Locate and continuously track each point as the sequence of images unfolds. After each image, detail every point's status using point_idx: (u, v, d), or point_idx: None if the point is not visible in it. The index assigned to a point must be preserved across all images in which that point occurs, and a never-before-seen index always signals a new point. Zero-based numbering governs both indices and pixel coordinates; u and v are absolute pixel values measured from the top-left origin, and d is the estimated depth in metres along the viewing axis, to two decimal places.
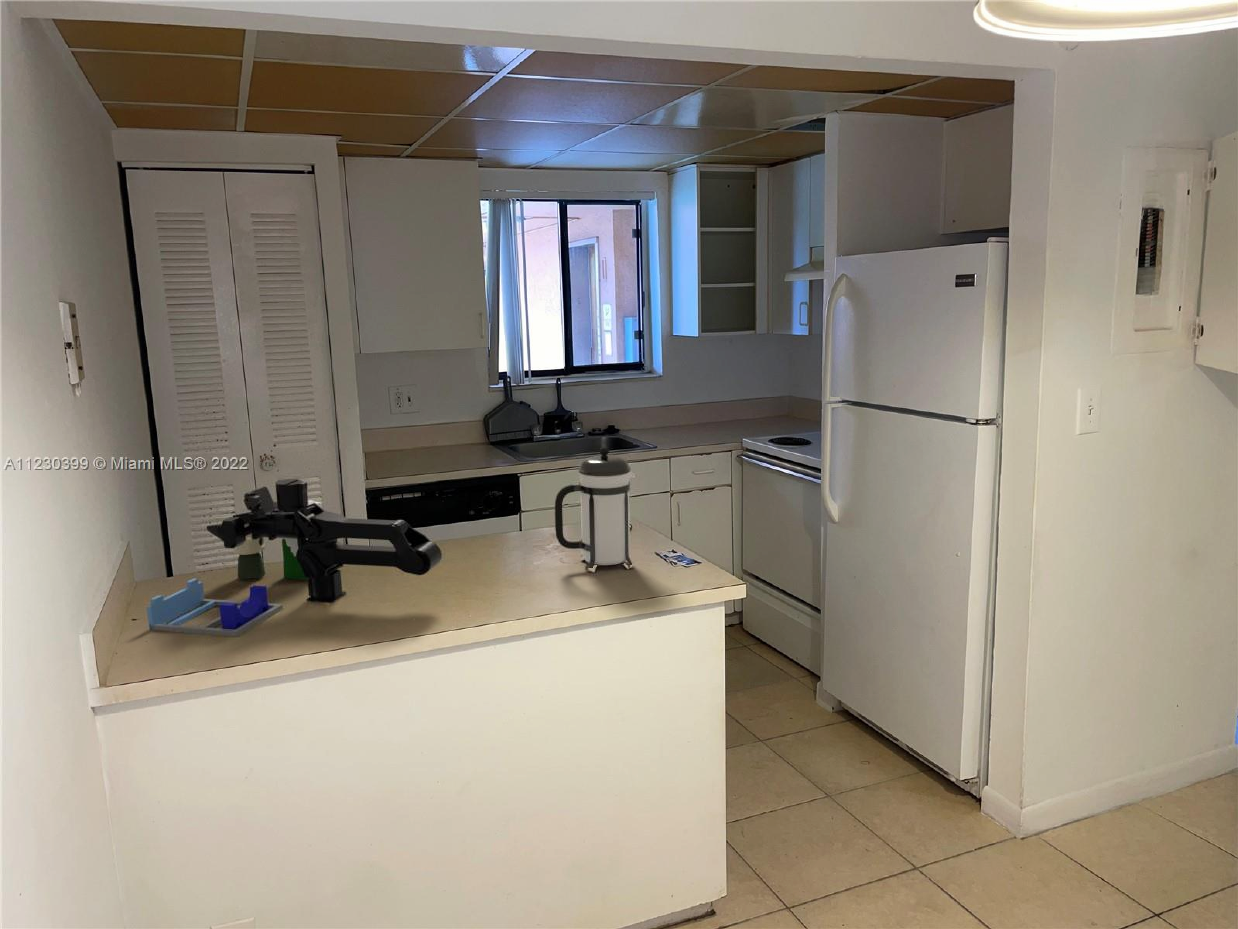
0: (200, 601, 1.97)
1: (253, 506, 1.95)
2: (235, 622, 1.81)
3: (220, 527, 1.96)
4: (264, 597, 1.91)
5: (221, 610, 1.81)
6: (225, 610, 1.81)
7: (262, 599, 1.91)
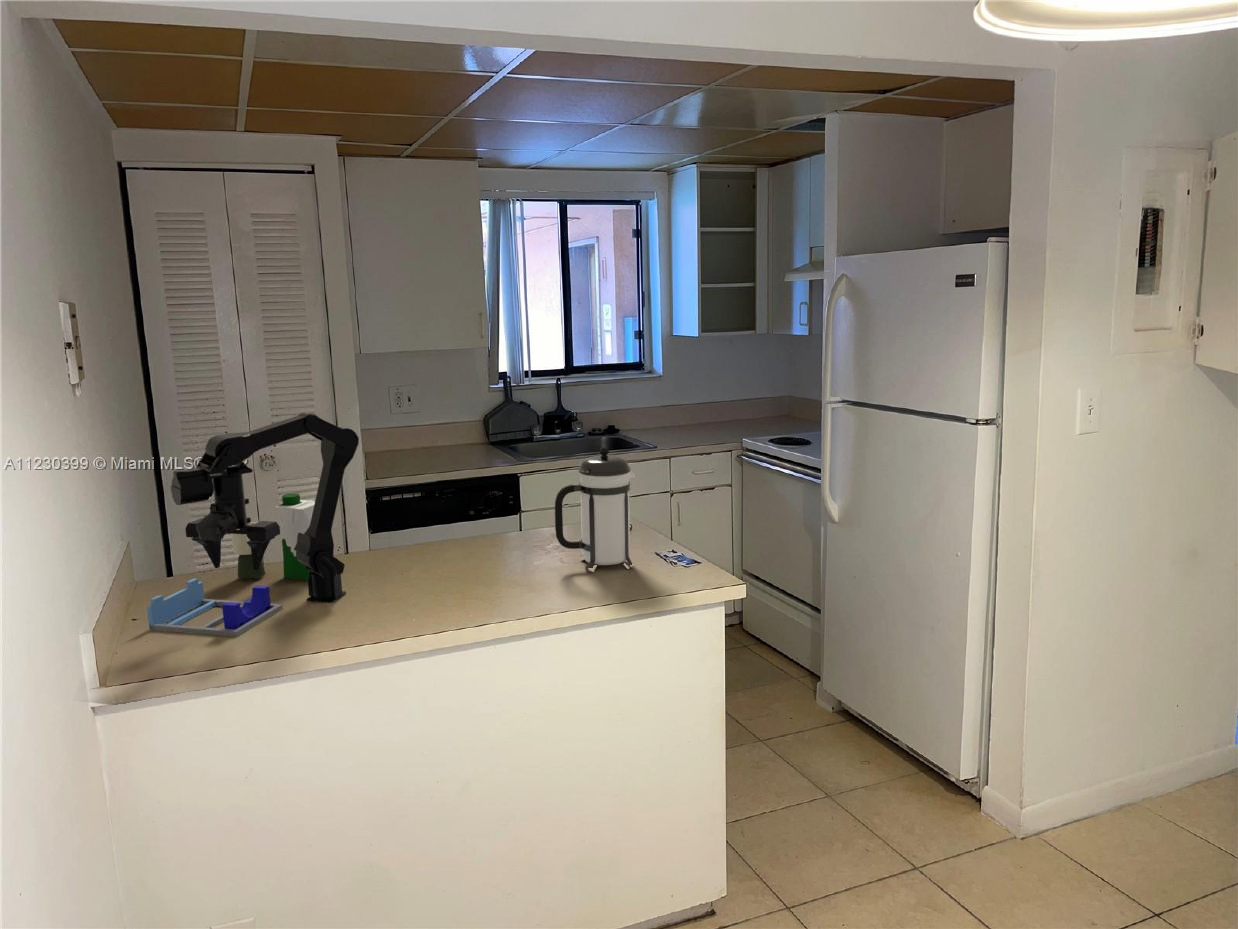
0: (200, 601, 1.97)
1: (232, 521, 1.77)
2: (238, 622, 1.81)
3: (257, 551, 1.83)
4: (267, 597, 1.91)
5: (224, 610, 1.81)
6: (228, 610, 1.81)
7: (264, 599, 1.90)
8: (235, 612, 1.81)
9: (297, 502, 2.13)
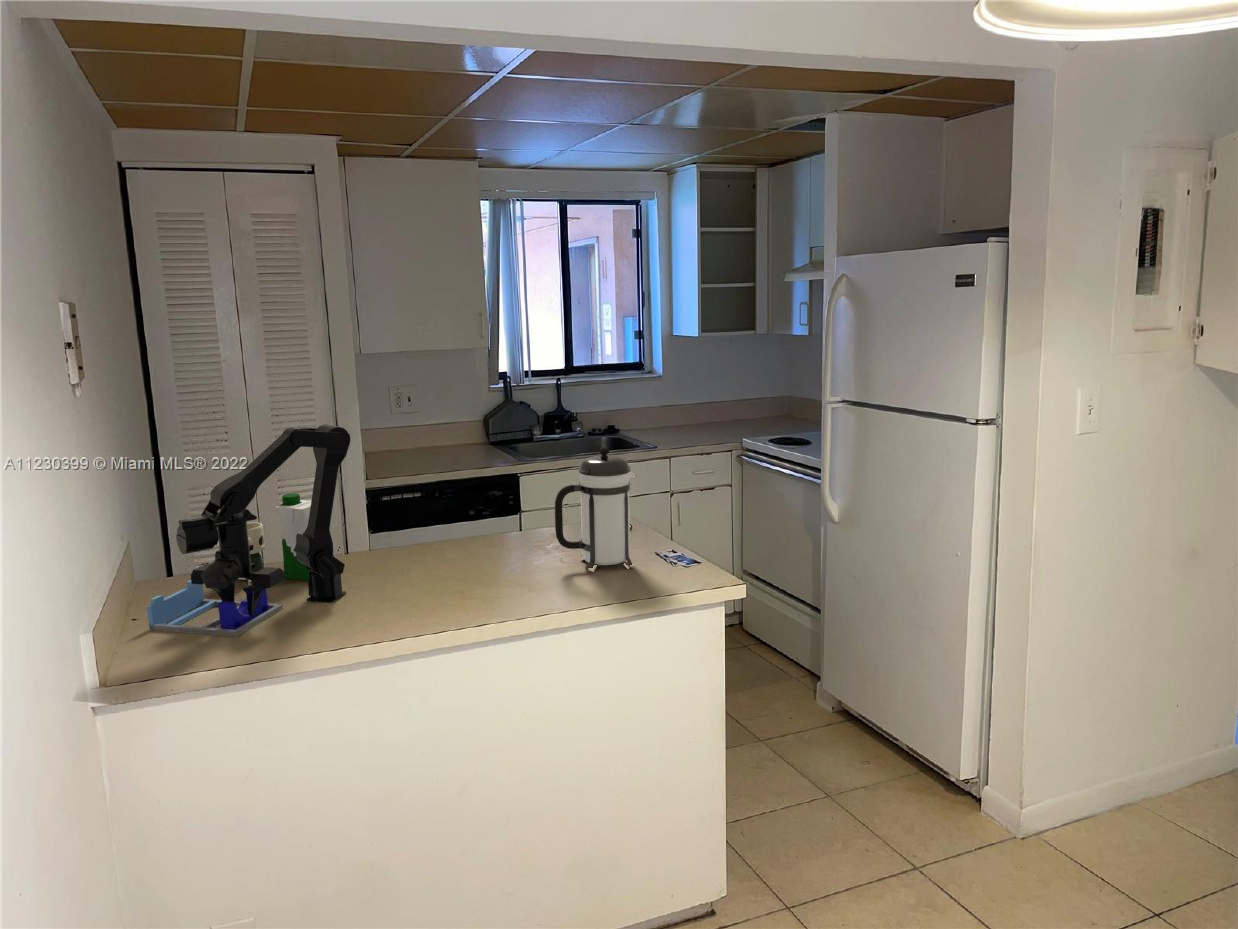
0: (200, 601, 1.97)
1: (237, 569, 1.79)
2: (234, 621, 1.81)
3: (253, 596, 1.85)
4: (264, 596, 1.91)
5: (220, 609, 1.81)
6: (224, 609, 1.81)
7: (262, 598, 1.91)
8: (231, 611, 1.81)
9: (297, 502, 2.13)
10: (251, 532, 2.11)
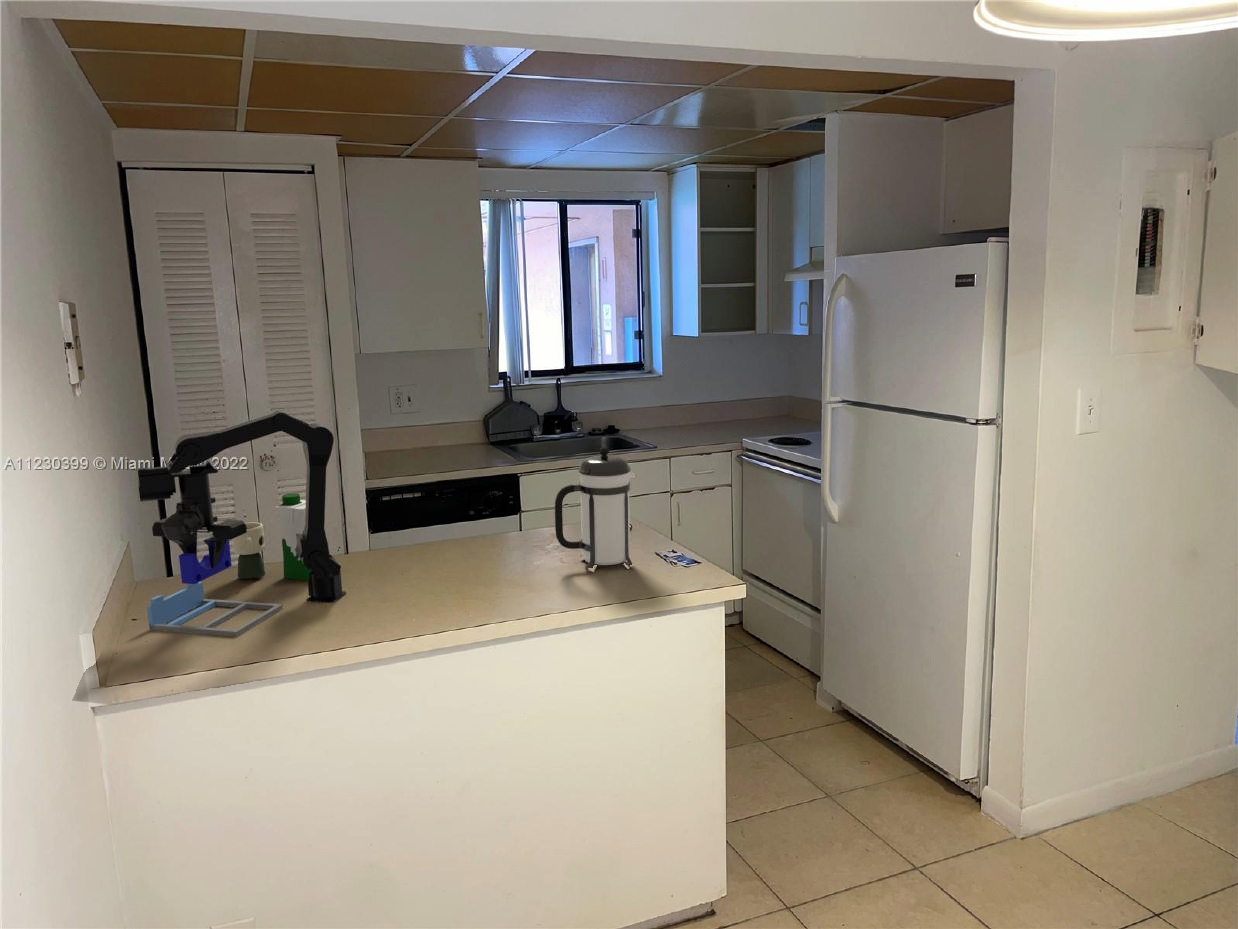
0: (200, 601, 1.97)
1: (198, 519, 1.79)
2: (195, 573, 1.81)
3: (215, 549, 1.85)
4: (227, 550, 1.91)
5: (181, 561, 1.81)
6: (184, 561, 1.81)
7: (224, 552, 1.90)
8: (192, 563, 1.80)
9: (297, 502, 2.13)
10: (251, 532, 2.11)
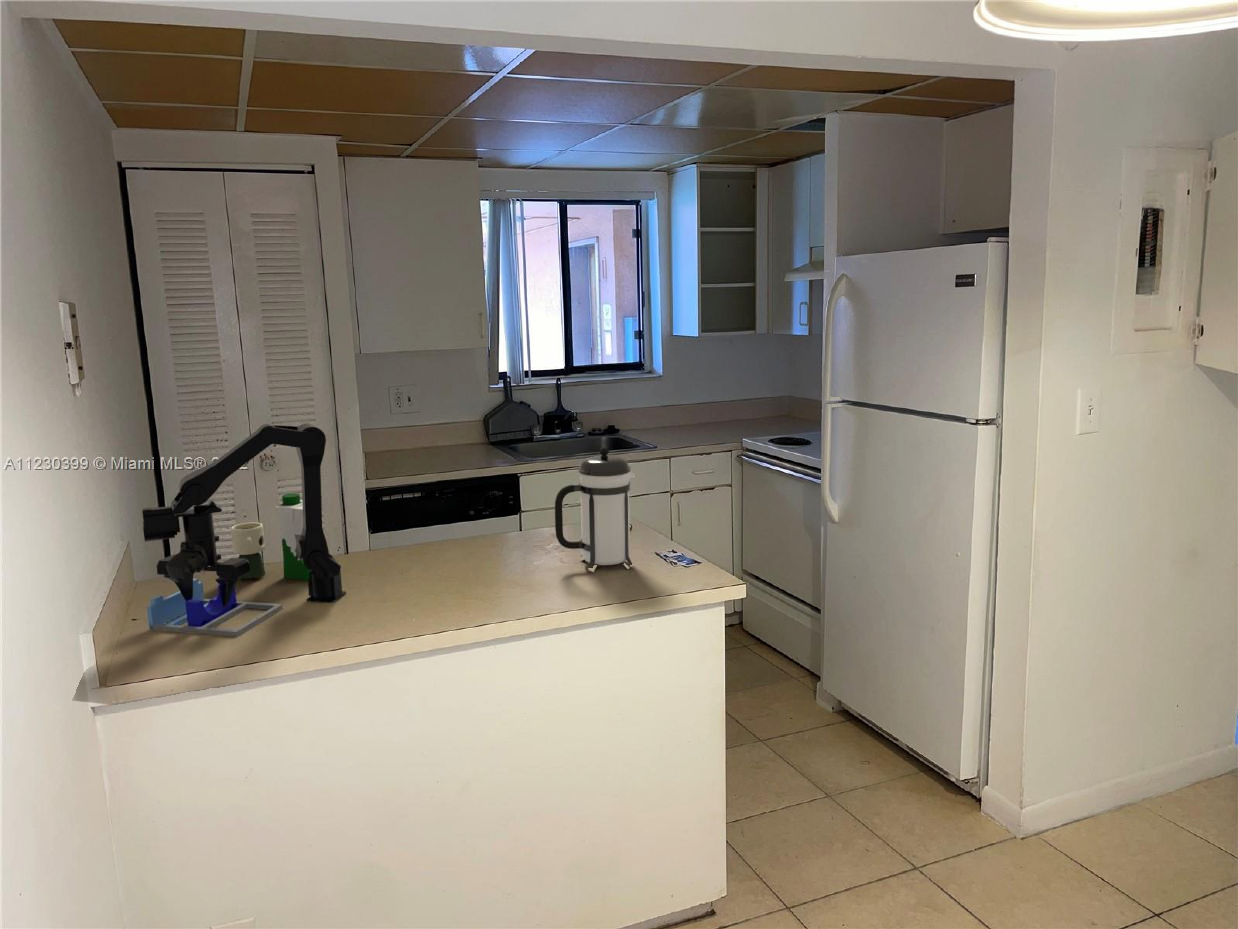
0: None
1: (202, 559, 1.80)
2: (201, 619, 1.83)
3: (226, 587, 1.86)
4: (233, 595, 1.93)
5: (187, 607, 1.83)
6: (191, 607, 1.83)
7: None
8: (198, 609, 1.82)
9: (297, 502, 2.13)
10: (251, 532, 2.11)
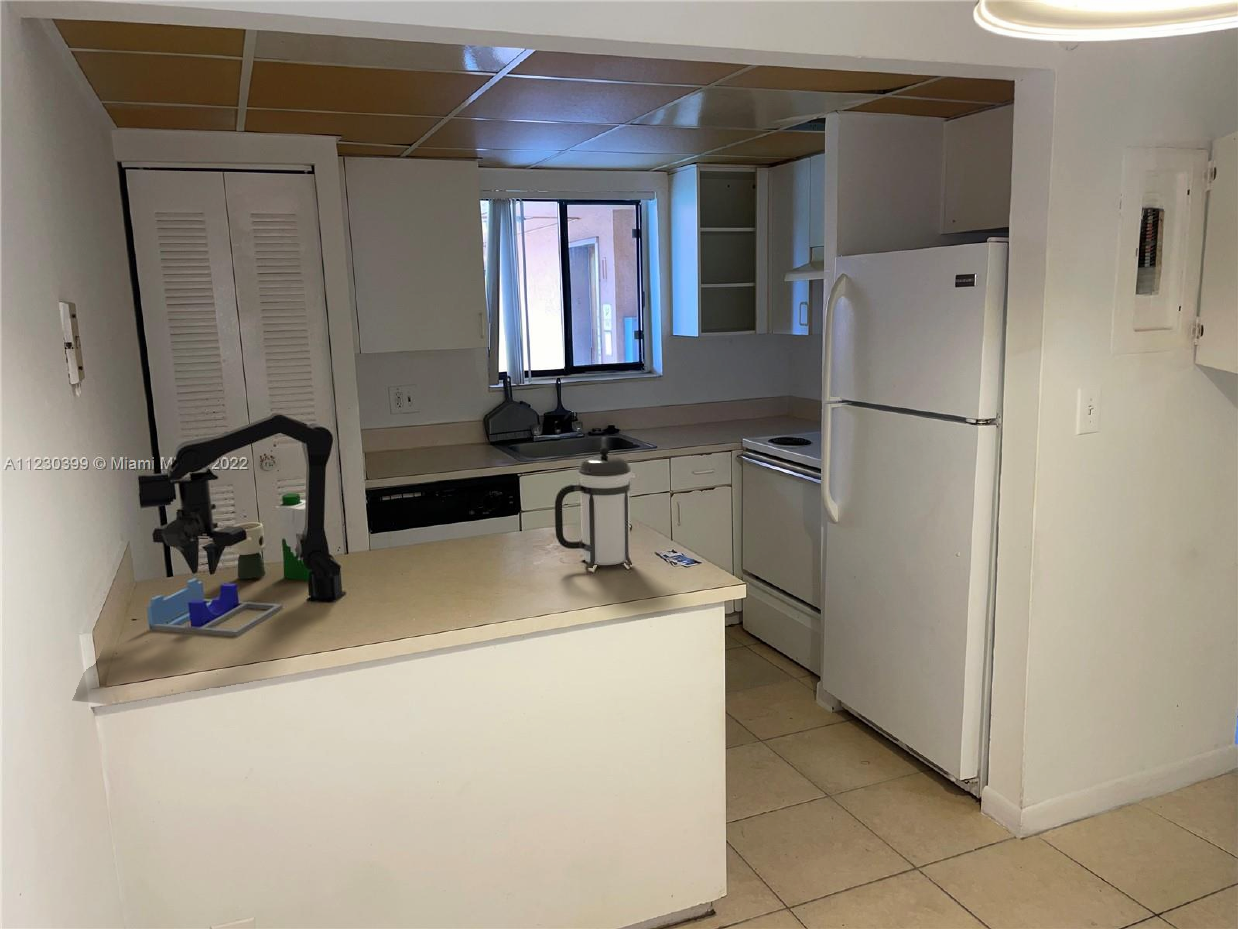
0: None
1: (198, 526, 1.79)
2: (204, 619, 1.83)
3: (213, 555, 1.85)
4: (235, 595, 1.93)
5: (190, 608, 1.83)
6: (194, 608, 1.82)
7: (232, 597, 1.92)
8: (201, 610, 1.82)
9: (297, 502, 2.13)
10: (251, 532, 2.11)
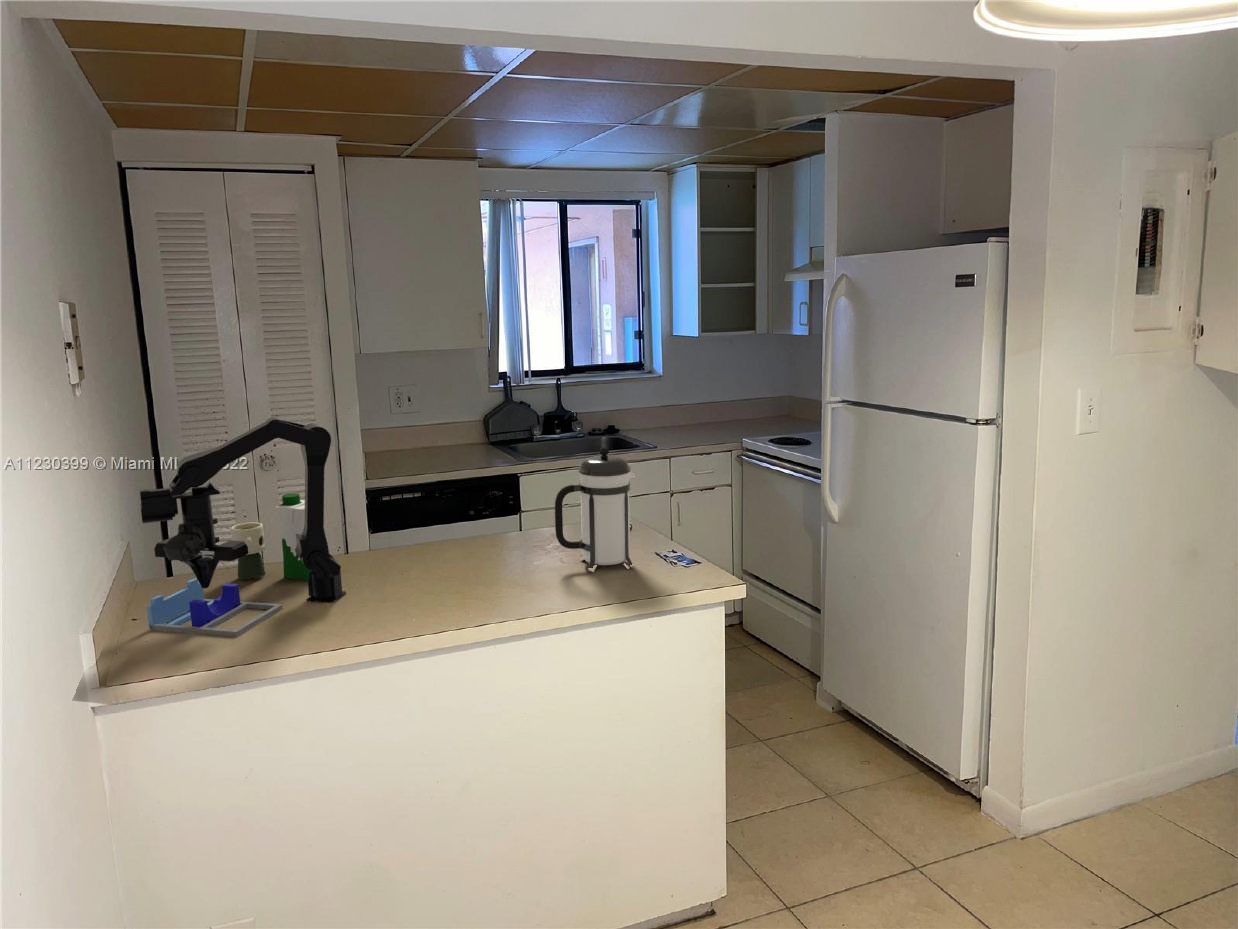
0: None
1: (200, 541, 1.80)
2: (205, 619, 1.83)
3: (207, 569, 1.86)
4: (236, 595, 1.93)
5: (191, 607, 1.83)
6: (195, 608, 1.82)
7: (234, 597, 1.92)
8: (202, 610, 1.82)
9: (297, 502, 2.13)
10: (251, 532, 2.11)
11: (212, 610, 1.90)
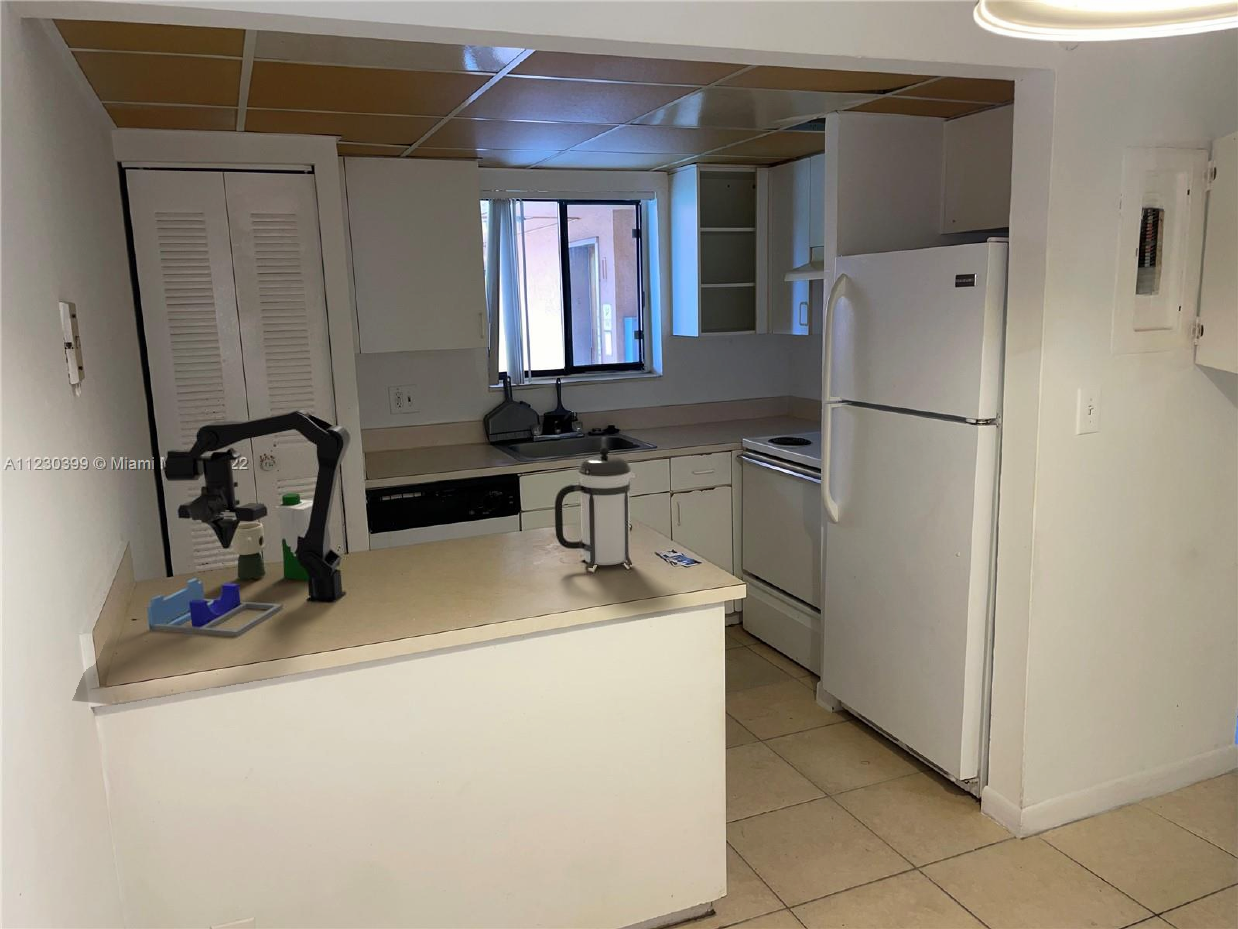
0: None
1: (222, 502, 1.88)
2: (205, 619, 1.83)
3: (228, 530, 1.95)
4: (236, 595, 1.93)
5: (191, 607, 1.83)
6: (195, 607, 1.82)
7: (234, 597, 1.92)
8: (202, 609, 1.82)
9: (297, 502, 2.13)
10: (251, 532, 2.11)
11: (212, 610, 1.90)
